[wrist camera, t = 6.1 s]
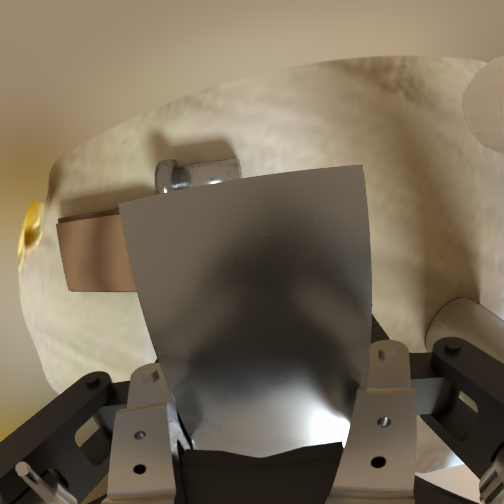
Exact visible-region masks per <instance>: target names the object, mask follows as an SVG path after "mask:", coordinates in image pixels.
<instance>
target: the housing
mask: <svg viewBox="0 0 504 504" xmlns="http://www.w3.org/2000/svg"><path fill="white" fill-rule="evenodd" d="M118 207H119V213H120V218H121V224H122V229H123V234H124V239H125V244H126V248H127V253H128V257H129V262H130V266H131V270H132V274H133V278H134V282H135V286H136V290H137V294H138V297H139V301H140V305H141V308H142V312H143V315H144V318H145V322H146V325H147V328H148V331H149V335H150V338H151V341H152V344H153V347H154V350H155V353H156V356H157V359H158V361H159V364H160V367H161V370H162V372H163V375H164V378H165V381H166V383H167V386H168V388H169V389H171V390H172V393H173V395H174V398H175V400H176V407H177V410H178V413H179V415H180V417H181V420H182V422H183V424H184V427H185V429H186V431H187V433H188V435H189V436H191V437H192V439H193V442H194V444H195V447H196V450H217V451H226V452H231V453H236V454H241V455H246V456H252V457H259V458H261V457H267V456H271V455H275V454H279V453H283V452H286V451H290V450H293V449H297V448H300V447H304V446H312V445H319V444H326V443H332V442H338V441H342V442H343V446H345V443H346V439H347V435H348V431H349V427H350V423H351V418H352V414H353V409H354V405H355V400H356V395H357V390H358V387H360V384H361V378H362V372H366V371H369V364H370V348H371V324H372V272H371V247H370V231H369V218H368V207H367V197H366V188H365V180H364V172H363V165H353V166H341V167H330V168H320V169H310V170H302V171H293V172H285V173H277V174H270V175H263V176H256V177H249V178H242V179H236V180H230V181H224V182H218V183H212V184H207V185H201V186H196V187H191V188H186V189H180V190H175V191H171V192H166V193H161V194H156V195H152V196H147V197H143V198H139V199H134V200H130V201H126V202H122V203H118Z"/></svg>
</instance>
